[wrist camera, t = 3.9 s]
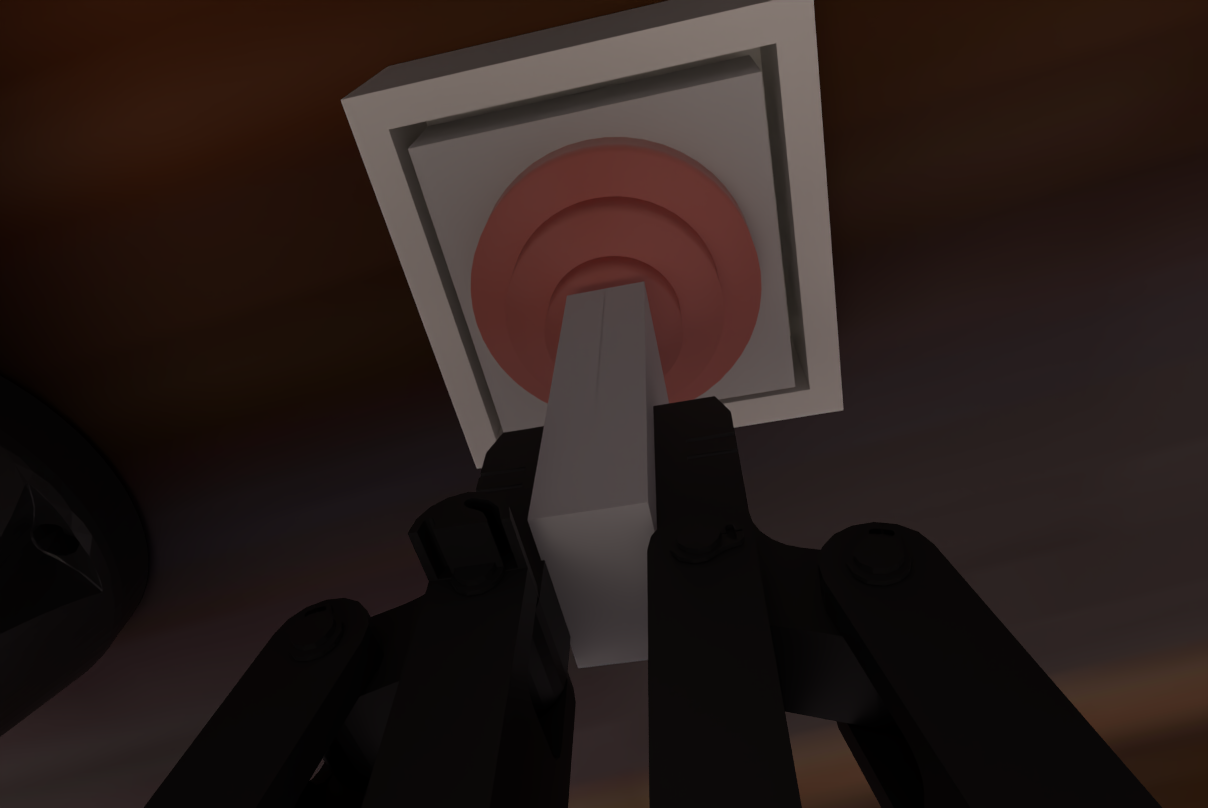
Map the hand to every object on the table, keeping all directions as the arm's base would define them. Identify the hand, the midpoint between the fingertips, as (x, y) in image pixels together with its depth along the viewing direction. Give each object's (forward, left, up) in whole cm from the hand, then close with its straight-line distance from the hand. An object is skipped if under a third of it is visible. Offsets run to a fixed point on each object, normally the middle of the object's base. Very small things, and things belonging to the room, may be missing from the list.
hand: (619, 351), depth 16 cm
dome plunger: (0, 0, -6) cm, 6 cm away
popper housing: (0, 0, -8) cm, 8 cm away
